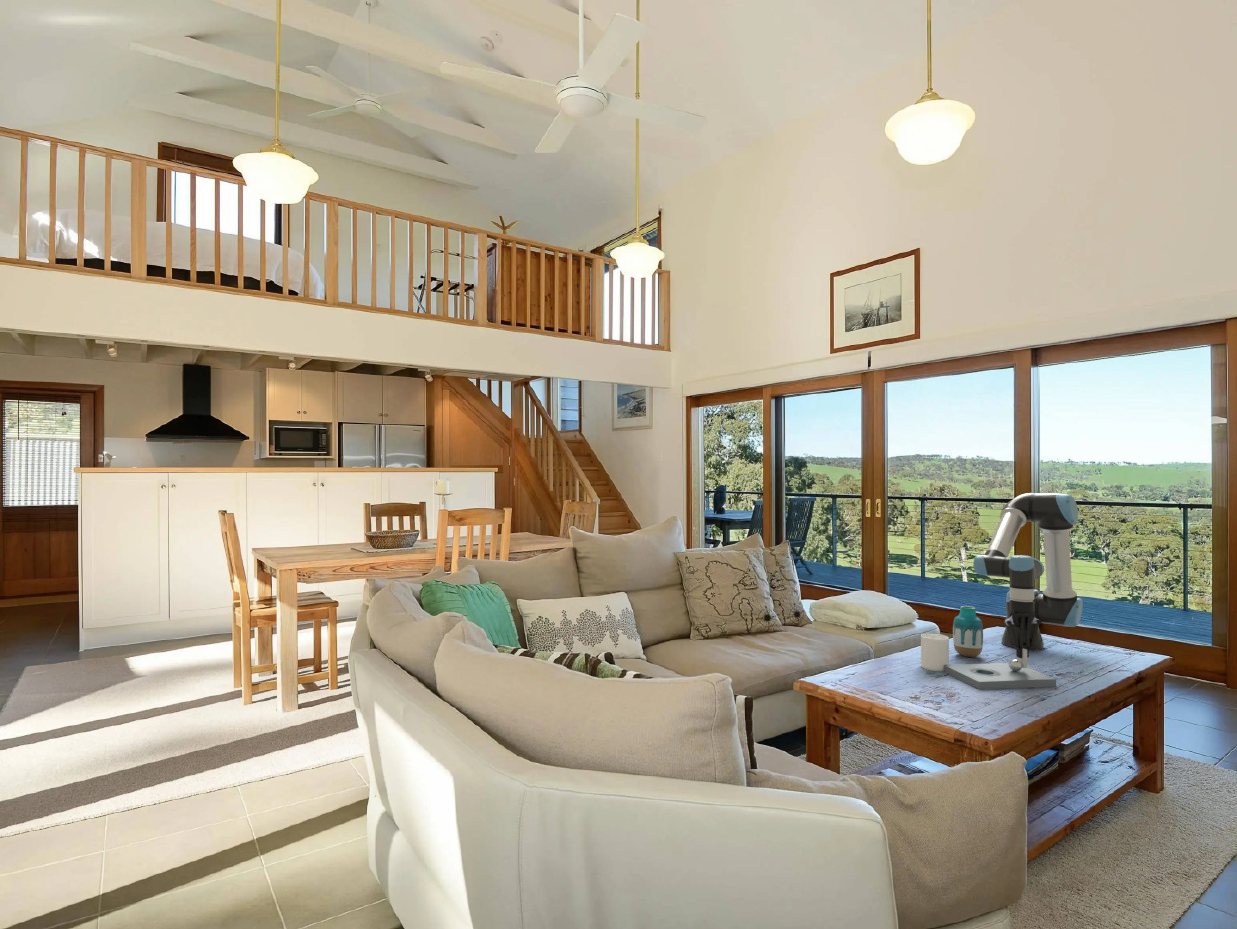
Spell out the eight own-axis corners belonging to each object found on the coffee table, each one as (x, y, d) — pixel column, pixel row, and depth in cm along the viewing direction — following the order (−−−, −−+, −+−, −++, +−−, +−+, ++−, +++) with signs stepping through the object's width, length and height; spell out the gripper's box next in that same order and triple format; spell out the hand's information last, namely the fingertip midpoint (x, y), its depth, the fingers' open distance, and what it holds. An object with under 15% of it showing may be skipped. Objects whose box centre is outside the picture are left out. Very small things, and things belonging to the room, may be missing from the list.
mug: (937, 673, 246) (937, 640, 246) (909, 665, 257) (909, 633, 257) (954, 669, 251) (954, 637, 251) (926, 661, 261) (926, 631, 261)
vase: (947, 654, 272) (946, 606, 272) (965, 651, 276) (965, 603, 276) (970, 661, 262) (970, 610, 262) (989, 657, 267) (989, 608, 267)
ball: (1018, 660, 242) (1009, 656, 242) (1026, 664, 238) (1017, 659, 238) (1013, 671, 242) (1004, 666, 242) (1021, 674, 238) (1012, 670, 238)
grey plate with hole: (1015, 669, 251) (1015, 662, 251) (1056, 686, 231) (1056, 679, 231) (943, 671, 248) (943, 664, 248) (979, 689, 228) (979, 681, 228)
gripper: (1031, 597, 245) (1031, 663, 245) (997, 598, 243) (998, 664, 243) (1046, 601, 238) (1047, 669, 237) (1012, 602, 236) (1013, 670, 236)
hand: (1022, 667), depth 240 cm, fingers closed
